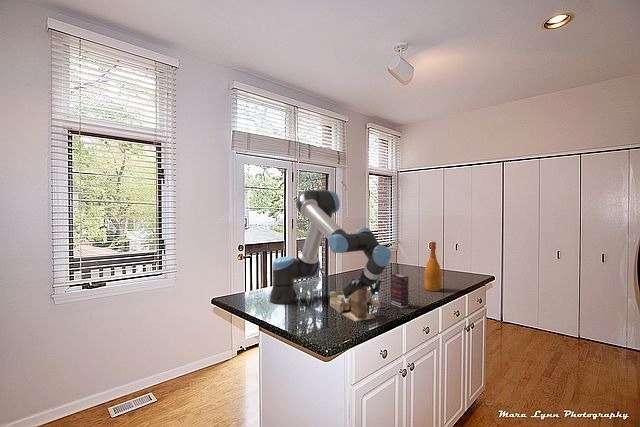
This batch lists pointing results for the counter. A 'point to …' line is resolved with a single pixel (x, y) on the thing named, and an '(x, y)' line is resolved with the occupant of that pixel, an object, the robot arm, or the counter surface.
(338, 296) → the sage offcut
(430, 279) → the wine bottle
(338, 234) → the robot arm
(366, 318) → the cork pad
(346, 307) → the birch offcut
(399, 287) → the supplement box
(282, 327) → the counter surface
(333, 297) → the rack
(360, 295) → the brown rectangular block
